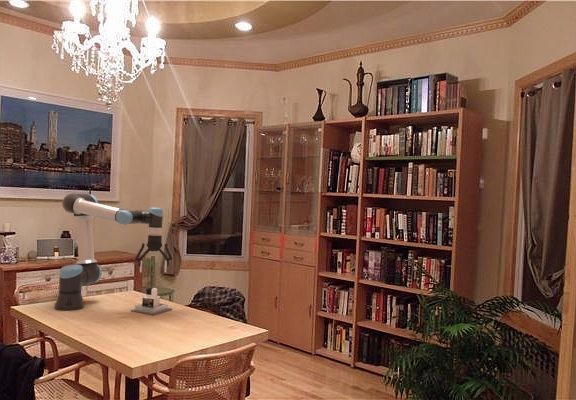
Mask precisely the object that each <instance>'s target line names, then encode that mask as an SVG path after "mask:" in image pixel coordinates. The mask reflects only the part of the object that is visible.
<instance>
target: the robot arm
mask: <svg viewBox="0 0 576 400" xmlns="http://www.w3.org/2000/svg"><path fill="white" fill-rule="evenodd" d="M61 205H62V208H63V210H64V211H65V212H66V213H69V214H73V218H74V219H75V220H76V231H77V235H76V236H77V249H78V250H77V251H78V260H77V261H76V262H75V264H68V265H65V266H62V267H61V268H60V270H59V273H58V274H59V275H58V276H59V280H58V281H59V282H58V295H57V298H56V300H55V303H54V309H55V310H58V311H75V310H80V309H84V307H85V301H84V298H83V294H82V291H83V290H82V289H83V288H82V287H86V286H91V285H93V284H96V283H97V282H98V281H99V280H101V278H102V272H103V271H102V268H101V267H100V265H99V264H98V260H96V259H95V249H94V248H95V247H94V245H95V244H94V225H93V219H94V218H99V219H102V220H103V219H104V220H109V221H112V222H117V223H118V224H120V225H133V224H135V225H137V224H138V225H139V224H144V225H145V224H146V225H148V231H147V233H148V235H147V243H144V242H142V243H141V247H140V248H139V250H138V253H136V256H135V258H134V259H135V260H136V261H137V266H138V267H139V273H140V274H141V273H142V272H143V271H142V270H143V258H145V257H146V256H147V255H148V253H149V252H159V253H161V255H162V257H164V259H165V260H164V273H167V268H168V267H169V265H170V263H169V262H170V261H172V260H173V257H172V255H171V252H170V250H169V248H168V244H167V243H163V242H162V241H163V240H162V237H163V236H162V234H163V220H164V219H163V218H164V210H163V208H162V207H149V210H139V209H132V210H131V209H130V210H128V209H123V208H119V207H115V206H111V205H106V204H102V203H99V201H98V199H97V197H96V196H95V195H93V194H90V193H74V192H73V193H68V194H66V195H65V196H64V198H63V199H62V202H61ZM146 247H147V249H146V250H145V251H144V248H146ZM162 247H163V248H164V249H165V252H166V253H167V255H166V254H165V253H164V252H163V250H162ZM143 251H144V252H143ZM142 252H143V253H142ZM140 255H141V256H140Z"/></svg>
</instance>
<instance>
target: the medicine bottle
mask: <svg viewBox="0 0 576 400" xmlns="http://www.w3.org/2000/svg"><path fill="white" fill-rule="evenodd" d="M160 303H161V296H160V295H158V288H156V287H148V288H146V290H145V295H144V296H142V303H141V304H142V306H145V307H152V308H155V307H158V306H160Z"/></svg>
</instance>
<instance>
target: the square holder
mask: <svg viewBox="0 0 576 400" xmlns="http://www.w3.org/2000/svg"><path fill="white" fill-rule="evenodd" d="M134 306H135V307H134V308H133V309H130V312H132V313H137V314H144V315H147V316H148V315H149V316H157V315H160V314H163V313H166V312H169V311H172V310H173V308H171V307H169V304H168V303H164V302H160V306H158V307H155V308H152V307H145V306H142V303H140V304H139V303H138V304H136V305H134Z"/></svg>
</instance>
